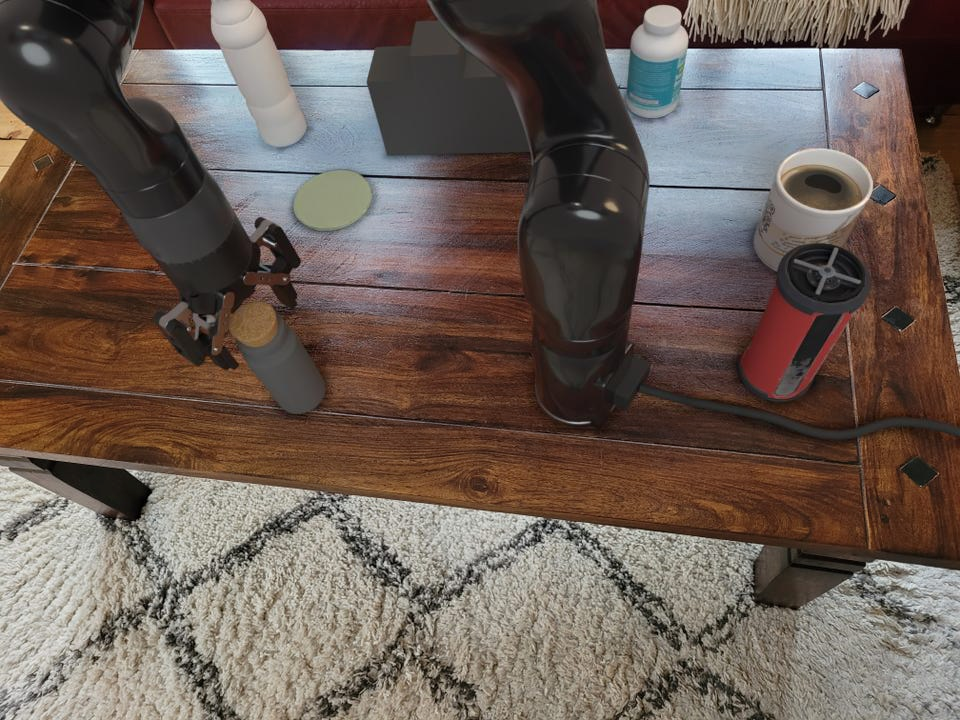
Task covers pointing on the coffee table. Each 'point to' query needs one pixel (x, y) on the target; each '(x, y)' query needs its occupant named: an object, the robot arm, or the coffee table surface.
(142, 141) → the robot arm
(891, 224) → the coffee table surface
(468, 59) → the camera
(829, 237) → the mug
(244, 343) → the bottle
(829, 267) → the speaker
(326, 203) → the coaster
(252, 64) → the water bottle
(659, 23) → the pill bottle
